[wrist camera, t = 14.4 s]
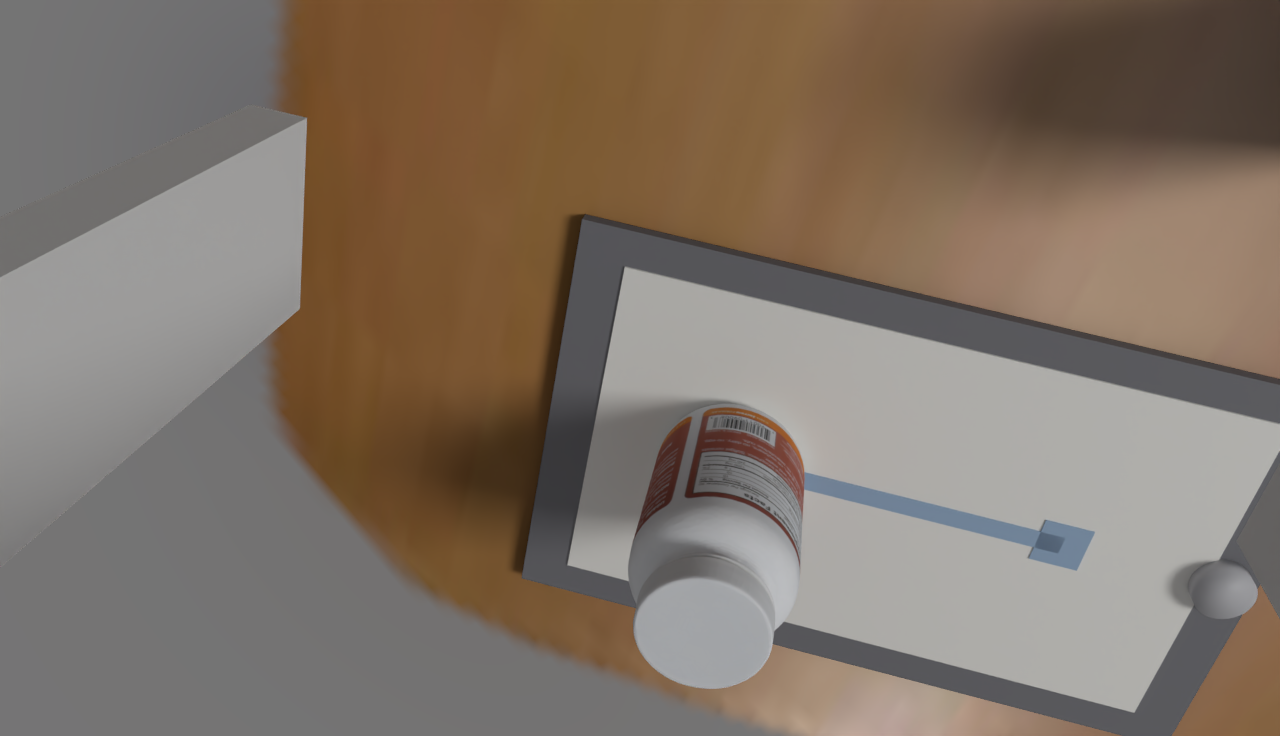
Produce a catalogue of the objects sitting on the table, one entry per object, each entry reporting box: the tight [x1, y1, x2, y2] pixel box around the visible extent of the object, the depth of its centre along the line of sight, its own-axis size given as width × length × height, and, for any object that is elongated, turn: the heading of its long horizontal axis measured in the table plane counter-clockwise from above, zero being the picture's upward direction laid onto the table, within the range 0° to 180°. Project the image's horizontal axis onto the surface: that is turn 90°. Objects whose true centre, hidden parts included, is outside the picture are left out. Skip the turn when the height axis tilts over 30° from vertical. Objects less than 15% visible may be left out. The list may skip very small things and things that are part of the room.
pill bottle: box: [628, 404, 805, 689], centre depth 40 cm, size 6×6×11 cm
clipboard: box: [522, 214, 1280, 736], centre depth 44 cm, size 18×30×1 cm, turn 79°
